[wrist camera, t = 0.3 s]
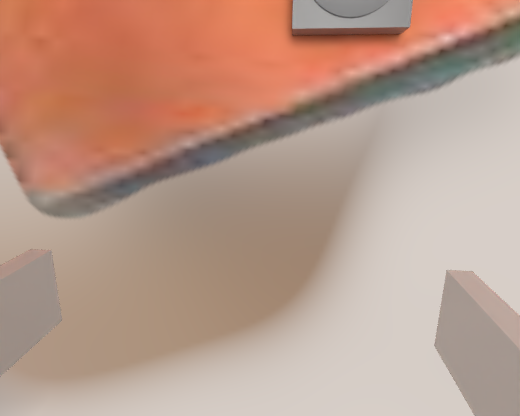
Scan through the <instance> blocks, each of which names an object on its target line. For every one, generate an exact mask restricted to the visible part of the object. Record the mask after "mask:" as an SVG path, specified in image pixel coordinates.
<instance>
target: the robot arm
mask: <svg viewBox="0 0 520 416" xmlns="http://www.w3.org/2000/svg"><path fill="white" fill-rule="evenodd" d="M61 321H62V316H61V310H60V303H59V297H58V291H57V284H56V277H55V271H54V264H53V258H52V252H51V250H38V249H30V250H28V251H26V252H25V253H22V254H21V255H19V256H17V257H15V258H13V259H11V260H9V261H7V262H6V263H4V264H2V265H0V377H1V376H2V375H3V374H4V373H5V372H6V371H7V370H8V369H9V368H10V367H11V366H13V365H14V364H15V363H16V362H17V361H18V360H19V359H20V358H21V357H22V356H24V355H25V354H26V353H27V352H28V351H29V350H30V349H31V348H32V347H33V346H35V345H36V344H37V343H38V342H39V341H40V340H41V339H42V338H43V337H44V336H45V335H47V334H48V333H49V332H50V331H51V330H52V329H53V328H54V327H55V326H56V325H58V324H59V323H60V322H61ZM435 347H436V349H437V351H438V353H439V354H440V356H441V358H442V360H443V362H444V363H445V365H446V367H447V368H448V370H449V372H450V374H451V375H452V377H453V379H454V381H455V382H456V384H457V386H458V387H459V389H460V391H461V393H462V395H463V396H464V398H465V400H466V401H467V403H468V405H469V407H470V408H471V410H472V412H473V414H474V415H475V416H520V315H518V314H517V313H516V312H515V311H514V310H513V309H512V308H511V307H510V306H509V305H508V304H507V303H506V302H505V301H503V300H502V299H501V298H500V297H499V296H498V295H497V294H496V293H495V292H494V291H493V290H492V289H491V288H489V287H488V286H487V285H486V284H485V283H484V282H483V281H482V280H481V279H480V278H479V277H478V276H477V275H475V273H474V272H472V271H456V270H447V271H446V277H445V284H444V290H443V296H442V302H441V308H440V314H439V320H438V326H437V333H436V339H435Z"/></svg>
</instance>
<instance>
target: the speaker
mask: <svg viewBox="0 0 520 416" xmlns="http://www.w3.org/2000/svg"><path fill="white" fill-rule="evenodd" d="M412 2H413V0H293V16H292V35H355V34H401V33H402V32H404V31H405V30H406V29H408V28H409V27H410V21H411V11H412Z"/></svg>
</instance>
